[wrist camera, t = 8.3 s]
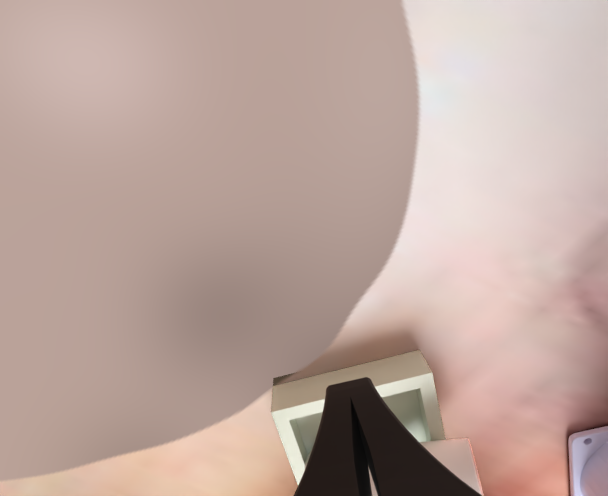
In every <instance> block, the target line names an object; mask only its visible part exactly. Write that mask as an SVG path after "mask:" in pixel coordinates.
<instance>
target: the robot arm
mask: <svg viewBox="0 0 608 496" xmlns="http://www.w3.org/2000/svg"><path fill="white" fill-rule="evenodd" d="M568 445H569V466H570V488H571V496H608V426H605V427H600V428H596V429H591V430H586V431H582V432H577V433H574V434H572V435H570V437H569V440H568ZM368 466H369V468H368ZM369 470H370V473H371V476H372V479H373V482H374V485H375V488H376V491H377V495H378V496H482V495H481V494H479V493H478V492H477V491H475V490H474V489H473V488H471V487H470V486H469V485H467V484H466V483H465V482H463V481H462V480H461V479H459V478H458V477H457V476H456V475H455V474H453V473H452V472H451V471H450V470H449V469H448V468H446V467H445V466H444V465H443V464H442V463H441V462H440V461H438V460H437V459H436V458H435V457H434V456H433V455H432V454H431V453H430V452H429V451H428V450H427V449H426V448H425V447H424V446H423V445H421V444H420V443H419V441H418V440H417V439H416V438H415V437H414V436H413V435H412V434H411V433H410V432H409V431H408V430H407V429H406V428H405V426H404V425H403V424H402V423H401V422H400V421H399V419H398V418H397V417H396V416H395V415H394V413H393V412H392V411H391V410H390V408H389V407H388V406H387V404H386V403H385V402H384V400H383V399H382V397H381V396H380V394H379V393H378V391H377V390H376V388H375V386H374V385H373V383H372V380H371V379H370V378H368V377H364V378H360V379H355V380H351V381H346V382H342V383H338V384H333V385H329V386H328V387H327V389H326V395H325V402H324V408H323V413H322V417H321V421H320V425H319V429H318V432H317V436H316V439H315V443H314V446H313V449H312V451H311V454H310V457H309V460H308V463H307V466H306V468H305V471H304V473H303V476H302V478H301V481H300V483H299V485H298V487H297V490H296V492H295V494H294V496H372V491H371V483H370V475H369Z"/></svg>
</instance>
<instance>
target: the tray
mask: <svg viewBox="0 0 608 496" xmlns="http://www.w3.org/2000/svg"><path fill="white" fill-rule="evenodd" d="M293 374H294V373H292V374H288V375H284V376H280V377H276V378H273V391H272V405H271V414H272V416H273V419H274V422H275V425H276V427H277V430H278V433H279V435H280V438H281V441H282V444H283V446H284V449H285V452H286V455H287V457H288V460H289V463H290V465H291V468H292V471H293V474H294V476H295V479H296V482H297V485H299V483H300V481H301V478H302V476H303V473H304V471H305V462H306V459H307V456H308V454H309V453H310V451H311V450H312V448H313V446H314V443H315V439H316V436H317V432H318V429H319V425H320V421H321V417H322V413H323V408H324V402H325V395H326V389H327V387H328V386H329V385H333V384H338V383H342V382H346V381H351V380H355V379H360V378H364V377H368V378H370V379H371V380H372V383H373V385H374V386H375V388H376V390H377V391H378V393H379V394H380V396H381V397H382V399H383V400H384V402H385V403H386V404H387V406H388V407H389V408H390V410H391V411H392V412H393V413H394V415H395V416H396V417H397V418H398V419H399V421H400V422H401V423H402V424H403V425H404V426H405V428H406V429H407V430H408V431H409V432H410V433H411V434H412V435H413V436H414V437H415V438H416V439H417V440H418V441H419V442H426V441H437V440H446V439H445V434H444V429H443V424H442V419H441V414H440V409H439V404H438V399H437V394H436V389H435V384H434V379H433V374H432V371H431V369H430V368H429V366H428V364H427V362H426V360H425V359H424V357H423V355H422V353H421V352H420V350H416V351H412V352H408V353H404V354H400V355H396V356H392V357H388V358H384V359H380V360H376V361H372V362H368V363H364V364H360V365H356V366H352V367H348V368H344V369H340V370H336V371H332V372H328V373H324V374H320V375H316V376H312V377H308V378H304V379H299V380H295V381H291V382H287V383H283V384H279V383H280V382H282V381H283V380H285V379H287V378H288V377H290V376H291V375H293ZM277 384H279V385H277Z"/></svg>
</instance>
